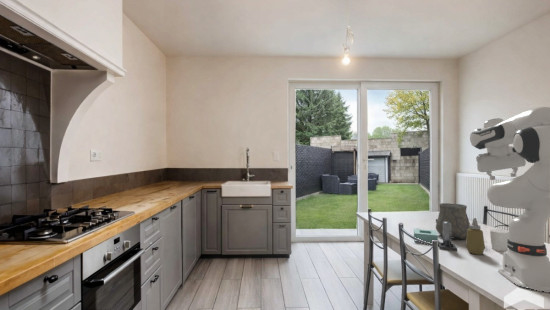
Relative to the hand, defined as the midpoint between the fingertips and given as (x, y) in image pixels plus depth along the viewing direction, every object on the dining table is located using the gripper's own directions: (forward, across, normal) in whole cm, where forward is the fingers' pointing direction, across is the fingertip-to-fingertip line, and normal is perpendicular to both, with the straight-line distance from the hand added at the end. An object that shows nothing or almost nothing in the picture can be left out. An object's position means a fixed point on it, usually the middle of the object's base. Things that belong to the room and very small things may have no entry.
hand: (503, 178), depth 140 cm
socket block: (+35, -35, +22) cm, 54 cm away
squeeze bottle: (+37, -18, +2) cm, 41 cm away
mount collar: (+35, -28, +9) cm, 46 cm away
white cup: (+40, -3, +10) cm, 41 cm away
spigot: (+35, -28, +9) cm, 46 cm away
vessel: (+38, -16, +32) cm, 53 cm away
